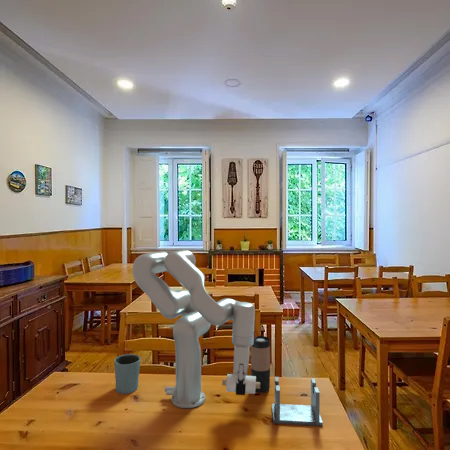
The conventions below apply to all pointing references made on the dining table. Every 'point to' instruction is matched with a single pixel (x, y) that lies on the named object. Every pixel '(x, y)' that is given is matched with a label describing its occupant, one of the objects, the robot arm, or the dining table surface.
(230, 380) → the paper roll
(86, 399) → the dining table surface
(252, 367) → the travel mug
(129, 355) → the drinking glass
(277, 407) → the roll holder
